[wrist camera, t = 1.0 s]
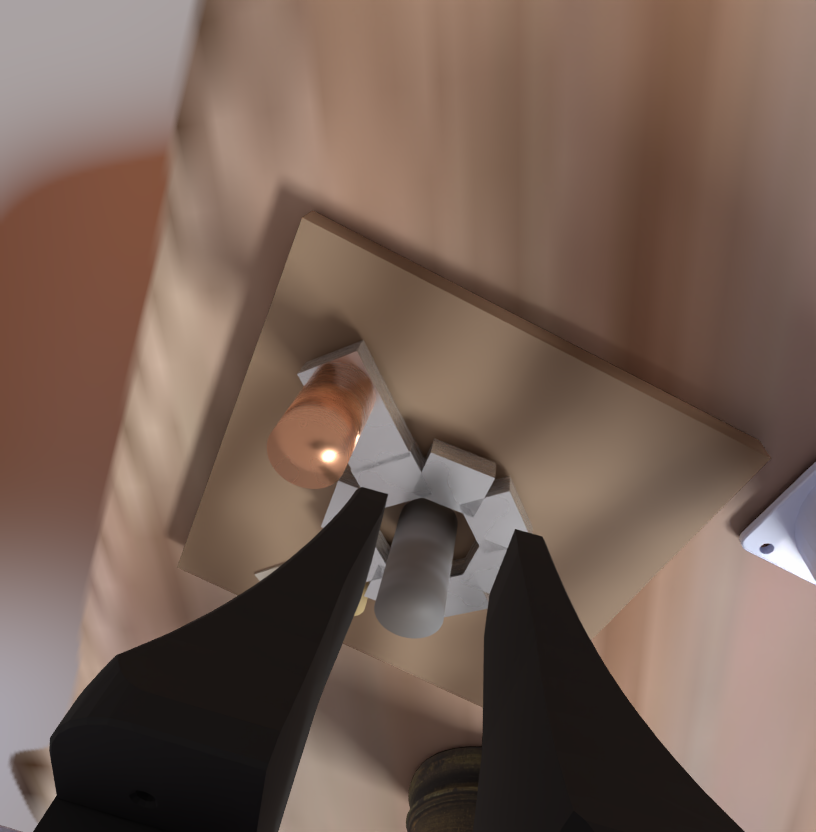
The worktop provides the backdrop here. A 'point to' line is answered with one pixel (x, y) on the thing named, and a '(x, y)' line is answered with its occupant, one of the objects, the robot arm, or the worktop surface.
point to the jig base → (468, 430)
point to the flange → (392, 467)
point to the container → (445, 792)
